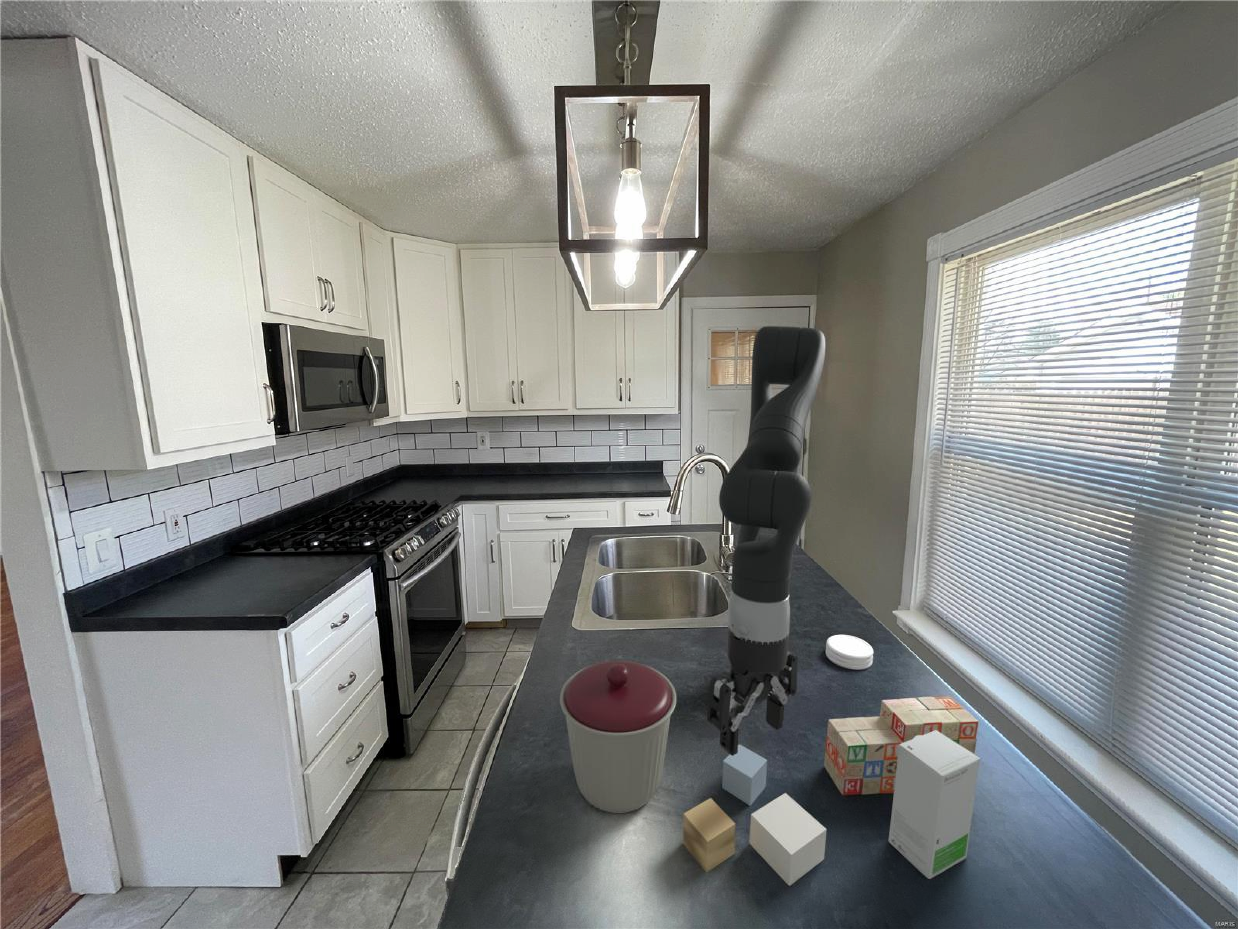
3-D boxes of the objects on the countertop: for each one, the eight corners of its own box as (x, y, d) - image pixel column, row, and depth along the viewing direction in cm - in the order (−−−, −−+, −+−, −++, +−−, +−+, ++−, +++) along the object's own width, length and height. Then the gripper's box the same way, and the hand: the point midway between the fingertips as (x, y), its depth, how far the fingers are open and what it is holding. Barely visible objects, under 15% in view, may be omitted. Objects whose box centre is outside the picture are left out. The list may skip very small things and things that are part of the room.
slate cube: (722, 788, 80) (723, 761, 80) (738, 770, 84) (739, 744, 83) (750, 806, 77) (751, 778, 76) (765, 787, 81) (767, 760, 80)
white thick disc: (851, 644, 123) (852, 631, 122) (882, 667, 114) (883, 652, 113) (816, 650, 120) (817, 637, 120) (845, 674, 111) (846, 659, 110)
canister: (647, 733, 92) (648, 628, 89) (694, 813, 76) (698, 688, 72) (551, 759, 86) (547, 648, 82) (579, 852, 70) (577, 718, 66)
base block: (749, 844, 71) (751, 814, 70) (783, 821, 74) (785, 792, 74) (789, 887, 65) (791, 855, 64) (823, 860, 69) (826, 829, 68)
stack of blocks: (842, 797, 79) (848, 728, 76) (823, 767, 85) (828, 701, 83) (970, 788, 80) (980, 720, 78) (942, 759, 86) (950, 695, 84)
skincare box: (928, 882, 65) (941, 779, 63) (883, 839, 71) (894, 743, 69) (969, 857, 69) (984, 758, 66) (923, 819, 75) (935, 726, 72)
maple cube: (682, 843, 71) (683, 813, 70) (709, 827, 74) (710, 798, 73) (706, 873, 67) (707, 841, 66) (734, 854, 69) (735, 824, 68)
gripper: (772, 600, 71) (766, 704, 73) (695, 627, 63) (692, 742, 66) (818, 621, 64) (810, 734, 67) (740, 654, 57) (734, 780, 59)
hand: (752, 738), depth 66 cm, fingers open, 8 cm apart
